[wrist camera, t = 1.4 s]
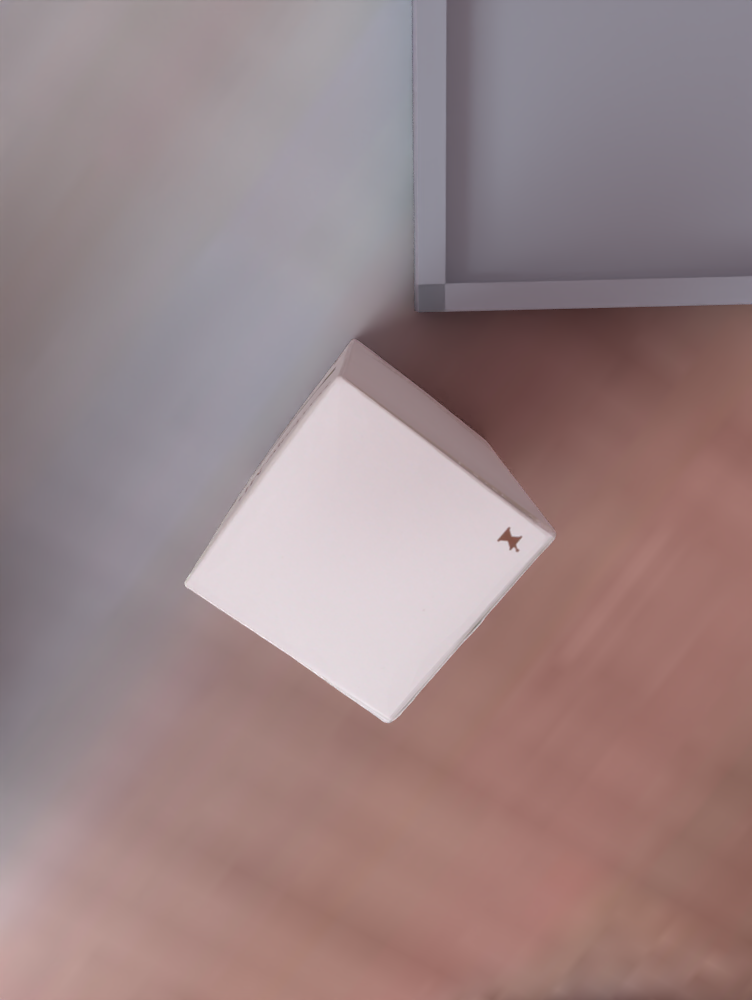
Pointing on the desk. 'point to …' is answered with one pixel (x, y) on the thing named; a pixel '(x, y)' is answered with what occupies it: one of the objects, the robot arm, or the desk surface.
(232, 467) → the desk surface
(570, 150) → the tray
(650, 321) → the desk surface
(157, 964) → the desk surface
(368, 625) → the supplement box
